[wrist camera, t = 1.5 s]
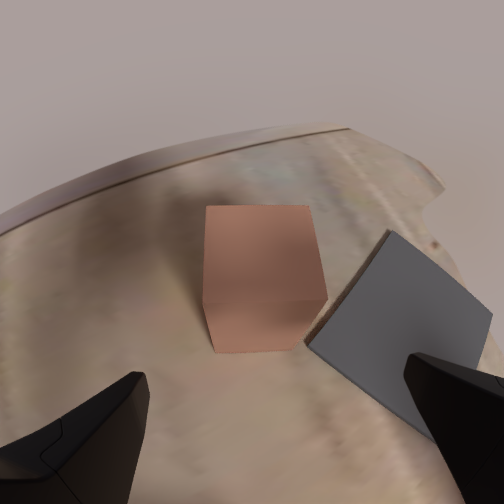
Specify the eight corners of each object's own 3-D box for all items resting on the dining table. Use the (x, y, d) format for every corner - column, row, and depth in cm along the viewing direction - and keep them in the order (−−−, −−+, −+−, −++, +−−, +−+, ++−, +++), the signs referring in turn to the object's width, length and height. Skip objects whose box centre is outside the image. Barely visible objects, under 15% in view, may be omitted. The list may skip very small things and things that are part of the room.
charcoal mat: (490, 315, 24) (492, 314, 24) (438, 445, 17) (441, 445, 17) (390, 232, 29) (392, 230, 29) (306, 346, 22) (308, 345, 22)
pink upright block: (291, 350, 22) (328, 299, 14) (215, 353, 22) (202, 303, 13) (284, 283, 25) (309, 205, 17) (215, 284, 25) (206, 205, 17)
